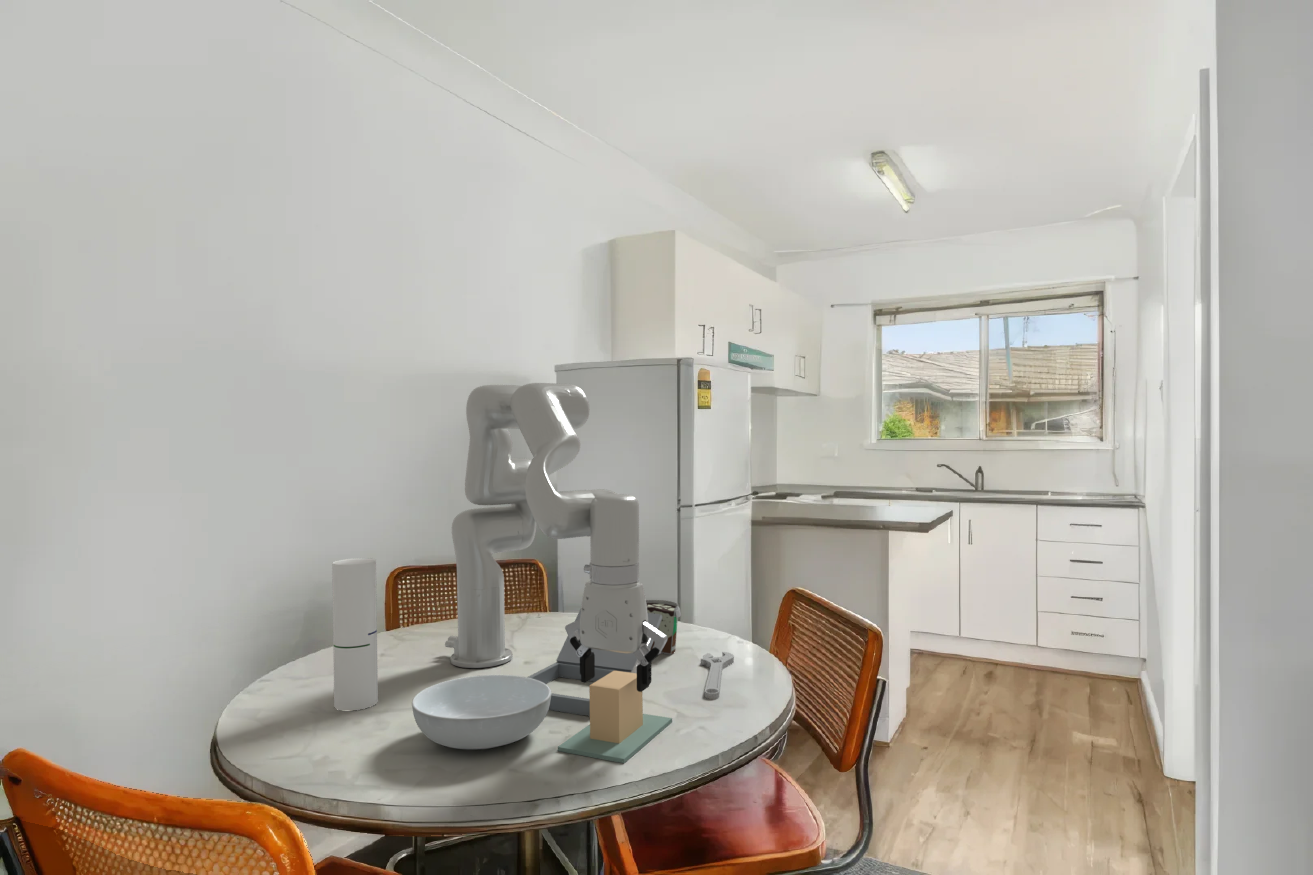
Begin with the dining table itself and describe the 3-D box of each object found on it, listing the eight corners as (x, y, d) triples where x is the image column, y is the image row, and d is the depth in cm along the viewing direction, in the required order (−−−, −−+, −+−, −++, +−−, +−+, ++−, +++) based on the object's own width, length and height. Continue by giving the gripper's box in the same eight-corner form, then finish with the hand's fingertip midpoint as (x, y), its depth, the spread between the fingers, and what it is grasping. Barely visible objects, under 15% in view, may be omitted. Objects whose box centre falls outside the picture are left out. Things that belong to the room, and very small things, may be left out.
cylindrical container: (386, 699, 136) (384, 558, 136) (358, 713, 129) (356, 565, 129) (353, 695, 138) (352, 557, 138) (324, 708, 132) (322, 563, 132)
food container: (692, 648, 166) (691, 602, 166) (677, 655, 161) (676, 608, 161) (644, 641, 172) (644, 597, 172) (629, 647, 167) (628, 602, 167)
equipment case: (505, 702, 133) (504, 638, 133) (583, 660, 158) (583, 606, 158) (595, 717, 126) (594, 648, 126) (663, 670, 151) (662, 613, 151)
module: (590, 738, 115) (589, 685, 115) (614, 720, 123) (614, 670, 123) (619, 743, 113) (618, 689, 113) (642, 724, 121) (642, 674, 121)
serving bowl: (562, 755, 111) (561, 708, 111) (410, 776, 105) (410, 725, 105) (541, 707, 131) (541, 667, 131) (413, 722, 125) (413, 680, 125)
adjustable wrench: (719, 702, 134) (719, 692, 134) (683, 700, 135) (683, 690, 135) (735, 660, 158) (735, 651, 158) (704, 658, 159) (704, 650, 159)
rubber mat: (557, 750, 112) (557, 746, 112) (611, 712, 128) (611, 708, 128) (624, 763, 108) (624, 758, 108) (672, 721, 123) (672, 717, 123)
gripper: (554, 574, 118) (554, 684, 118) (655, 583, 111) (655, 700, 111) (578, 566, 125) (579, 669, 125) (675, 574, 118) (675, 684, 118)
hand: (615, 684), depth 118 cm, fingers open, 9 cm apart
